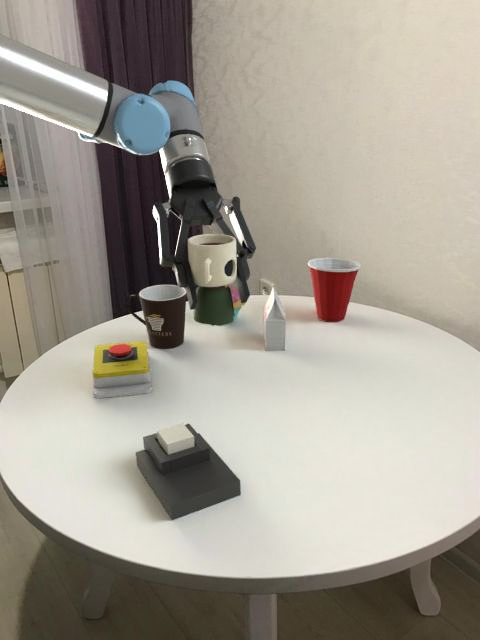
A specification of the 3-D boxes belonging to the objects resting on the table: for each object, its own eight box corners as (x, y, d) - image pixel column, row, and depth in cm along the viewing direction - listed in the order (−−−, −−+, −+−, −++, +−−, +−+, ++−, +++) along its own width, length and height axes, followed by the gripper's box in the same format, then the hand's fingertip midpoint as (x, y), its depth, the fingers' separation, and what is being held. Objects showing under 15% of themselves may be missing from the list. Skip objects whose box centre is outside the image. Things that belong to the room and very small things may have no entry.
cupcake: (230, 330, 117) (229, 272, 112) (195, 322, 121) (192, 266, 116) (252, 316, 124) (252, 261, 119) (219, 309, 127) (217, 255, 122)
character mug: (231, 337, 86) (230, 250, 80) (184, 335, 87) (179, 248, 81) (242, 310, 96) (241, 231, 90) (199, 308, 96) (195, 229, 91)
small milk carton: (283, 335, 115) (283, 286, 111) (285, 350, 109) (286, 299, 105) (264, 335, 115) (264, 286, 111) (265, 350, 109) (265, 299, 104)
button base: (136, 465, 77) (133, 439, 76) (199, 445, 81) (197, 420, 80) (171, 520, 68) (169, 493, 66) (240, 495, 72) (240, 468, 70)
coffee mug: (198, 341, 112) (196, 292, 108) (162, 356, 107) (158, 304, 102) (161, 325, 120) (157, 278, 115) (125, 337, 114) (120, 289, 110)
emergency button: (146, 331, 106) (150, 368, 93) (148, 352, 108) (152, 392, 95) (93, 335, 104) (89, 374, 91) (96, 357, 106) (93, 398, 93)
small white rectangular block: (157, 441, 76) (156, 430, 75) (183, 434, 77) (182, 422, 77) (168, 456, 73) (167, 444, 72) (194, 447, 75) (194, 436, 74)
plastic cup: (363, 312, 126) (367, 257, 121) (349, 330, 117) (353, 272, 112) (315, 304, 130) (317, 251, 125) (298, 321, 121) (299, 265, 116)
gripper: (125, 159, 87) (154, 299, 80) (253, 153, 93) (290, 283, 86) (123, 189, 93) (149, 321, 87) (243, 182, 100) (276, 304, 93)
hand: (220, 302), depth 86 cm, fingers closed on character mug, 7 cm apart
